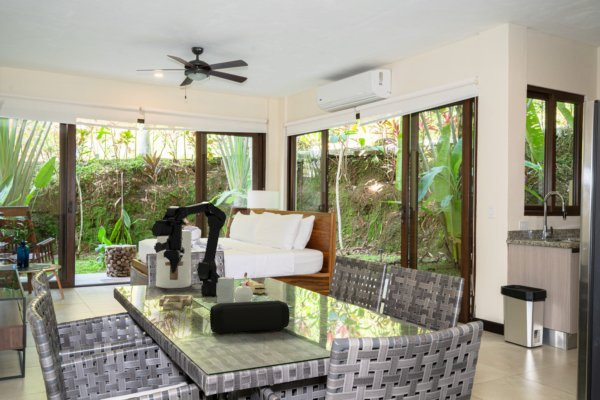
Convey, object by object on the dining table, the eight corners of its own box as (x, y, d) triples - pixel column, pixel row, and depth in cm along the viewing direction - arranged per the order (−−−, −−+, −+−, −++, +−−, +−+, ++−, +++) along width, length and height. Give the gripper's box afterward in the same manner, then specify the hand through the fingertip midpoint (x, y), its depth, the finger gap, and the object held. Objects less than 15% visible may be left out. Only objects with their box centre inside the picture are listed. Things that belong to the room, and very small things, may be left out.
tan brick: (182, 278, 211) (183, 261, 211) (181, 279, 208) (182, 262, 208) (166, 278, 211) (166, 261, 211) (164, 279, 208) (165, 262, 208)
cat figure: (235, 289, 251) (251, 294, 229) (235, 272, 252) (251, 275, 229) (253, 288, 255) (270, 293, 233) (253, 272, 256) (270, 274, 233)
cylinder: (153, 283, 257) (154, 229, 257) (186, 281, 264) (187, 229, 264) (158, 288, 241) (160, 231, 241) (193, 287, 248) (195, 231, 249)
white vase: (249, 315, 188) (249, 284, 188) (230, 314, 189) (230, 283, 189) (254, 311, 195) (255, 281, 195) (236, 310, 197) (237, 280, 197)
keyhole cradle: (191, 300, 214) (192, 295, 214) (187, 309, 196) (187, 303, 196) (162, 300, 212) (162, 295, 212) (155, 309, 195) (156, 303, 195)
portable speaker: (281, 325, 174) (281, 297, 174) (290, 332, 164) (290, 303, 165) (208, 330, 165) (209, 300, 165) (214, 338, 156) (215, 306, 156)
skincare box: (233, 306, 204) (234, 277, 204) (231, 308, 200) (232, 279, 200) (219, 305, 205) (220, 276, 205) (216, 307, 201) (217, 278, 201)
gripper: (160, 234, 218) (159, 269, 218) (151, 236, 200) (150, 275, 199) (185, 234, 219) (184, 269, 219) (179, 237, 201) (178, 275, 201)
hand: (174, 272), depth 210 cm, fingers closed on tan brick, 3 cm apart
